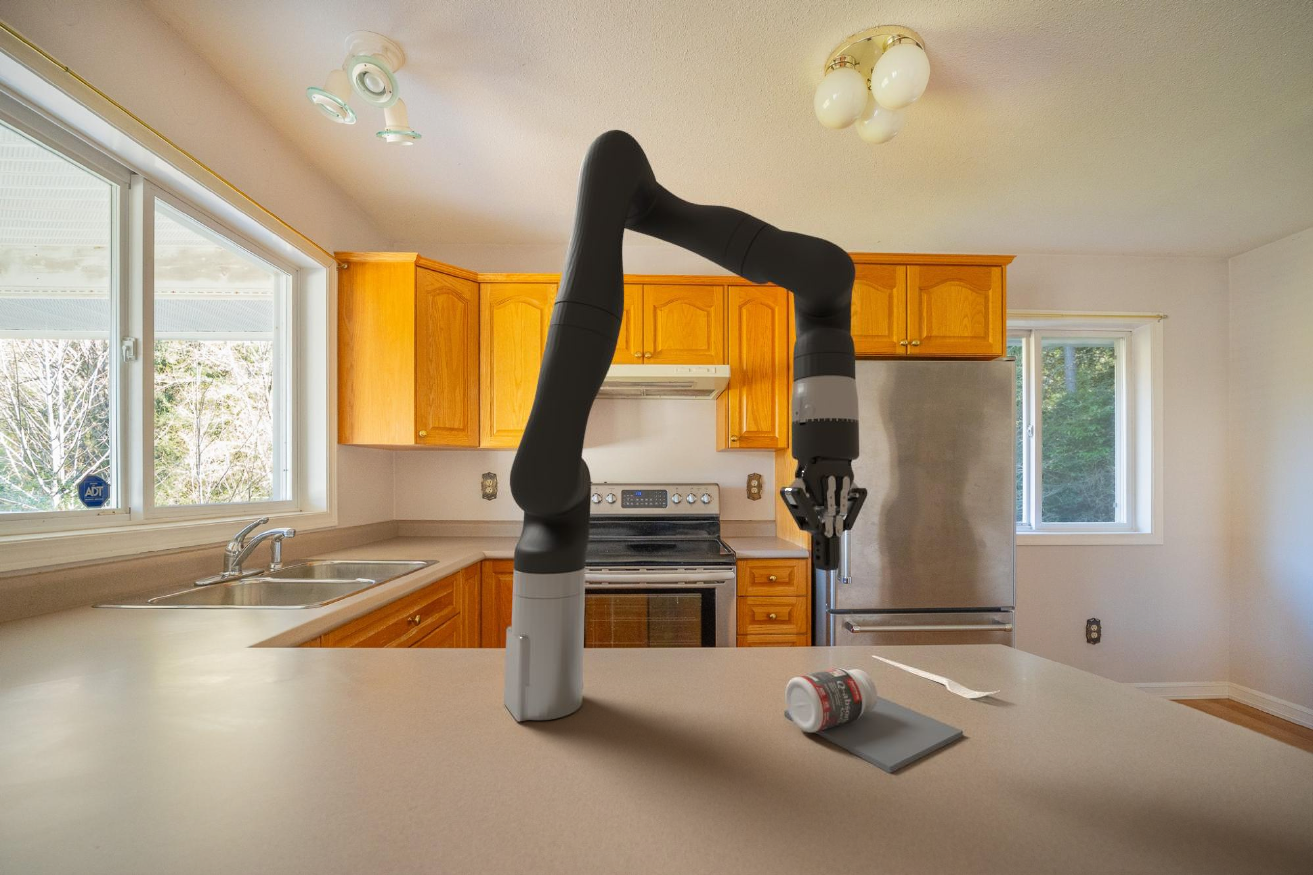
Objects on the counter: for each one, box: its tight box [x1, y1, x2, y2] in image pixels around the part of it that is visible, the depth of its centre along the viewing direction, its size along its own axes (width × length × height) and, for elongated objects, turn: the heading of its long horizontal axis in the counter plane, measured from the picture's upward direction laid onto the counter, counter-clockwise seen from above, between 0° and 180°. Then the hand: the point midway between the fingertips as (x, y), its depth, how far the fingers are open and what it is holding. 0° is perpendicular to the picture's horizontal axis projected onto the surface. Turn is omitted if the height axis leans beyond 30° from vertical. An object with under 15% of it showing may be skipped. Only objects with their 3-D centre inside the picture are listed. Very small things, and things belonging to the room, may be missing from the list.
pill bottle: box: [784, 667, 879, 733], centre depth 59 cm, size 6×6×10 cm
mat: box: [783, 695, 964, 774], centre depth 59 cm, size 14×14×1 cm
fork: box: [871, 654, 1001, 699], centre depth 74 cm, size 3×20×2 cm, turn 25°
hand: (826, 569), depth 57 cm, fingers closed
